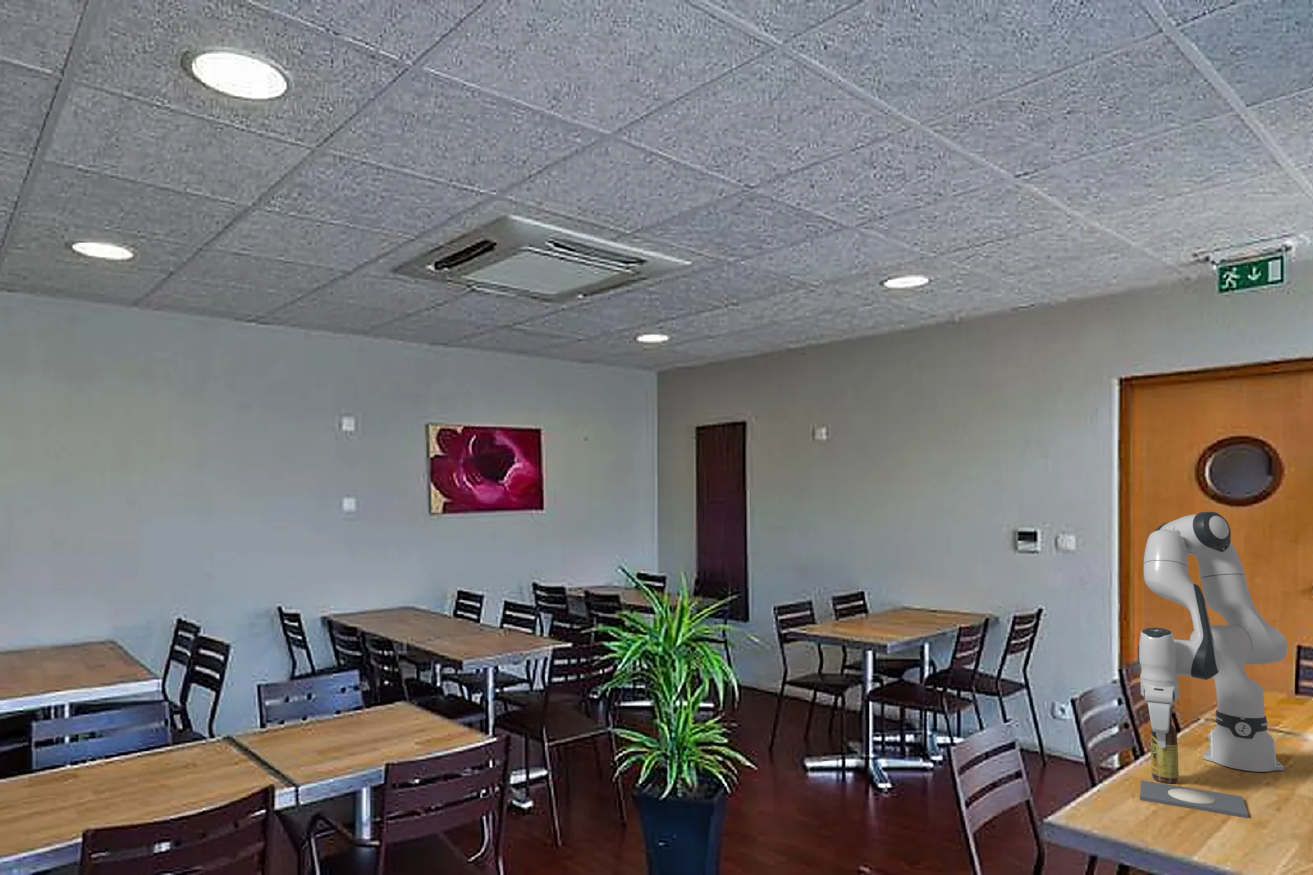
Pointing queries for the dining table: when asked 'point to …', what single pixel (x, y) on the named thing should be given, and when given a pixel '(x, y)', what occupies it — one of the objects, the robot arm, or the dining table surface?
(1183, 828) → the dining table surface
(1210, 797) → the mat
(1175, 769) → the sauce bottle
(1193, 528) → the robot arm
